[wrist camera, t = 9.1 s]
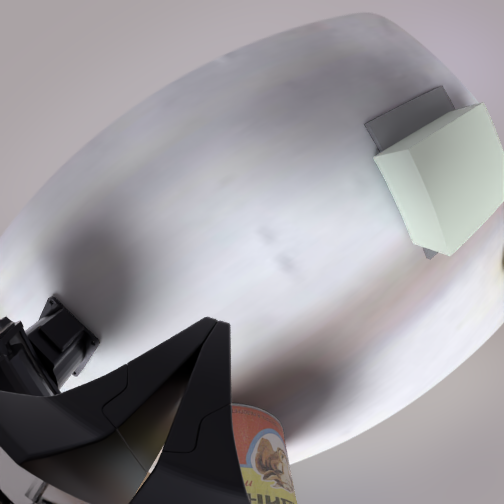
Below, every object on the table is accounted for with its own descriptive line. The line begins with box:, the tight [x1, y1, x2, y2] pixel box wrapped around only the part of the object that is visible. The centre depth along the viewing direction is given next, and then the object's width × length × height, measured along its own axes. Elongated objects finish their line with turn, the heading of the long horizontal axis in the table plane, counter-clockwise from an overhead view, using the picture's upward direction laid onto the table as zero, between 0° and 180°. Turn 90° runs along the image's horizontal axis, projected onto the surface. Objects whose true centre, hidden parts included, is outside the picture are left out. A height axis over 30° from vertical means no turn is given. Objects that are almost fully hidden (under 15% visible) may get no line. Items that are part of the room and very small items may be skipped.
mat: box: [364, 86, 455, 259], centre depth 19 cm, size 11×13×1 cm
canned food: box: [231, 403, 297, 504], centre depth 19 cm, size 11×11×12 cm
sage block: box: [373, 102, 504, 256], centre depth 17 cm, size 5×8×11 cm
